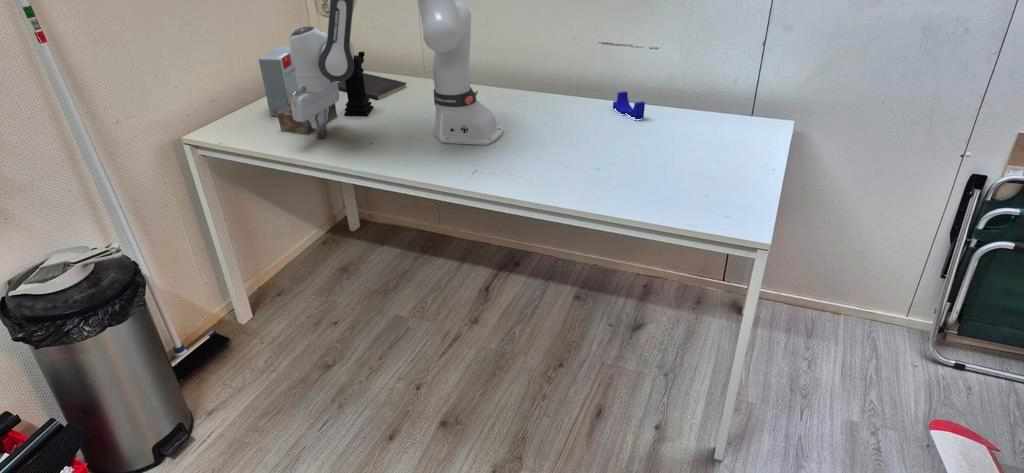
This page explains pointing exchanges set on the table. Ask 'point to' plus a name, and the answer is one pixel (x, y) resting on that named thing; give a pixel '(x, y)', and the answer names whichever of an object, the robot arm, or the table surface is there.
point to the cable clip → (628, 106)
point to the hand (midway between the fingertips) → (320, 124)
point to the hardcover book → (377, 86)
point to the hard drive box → (278, 78)
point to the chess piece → (357, 91)
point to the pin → (321, 125)
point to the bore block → (300, 127)
